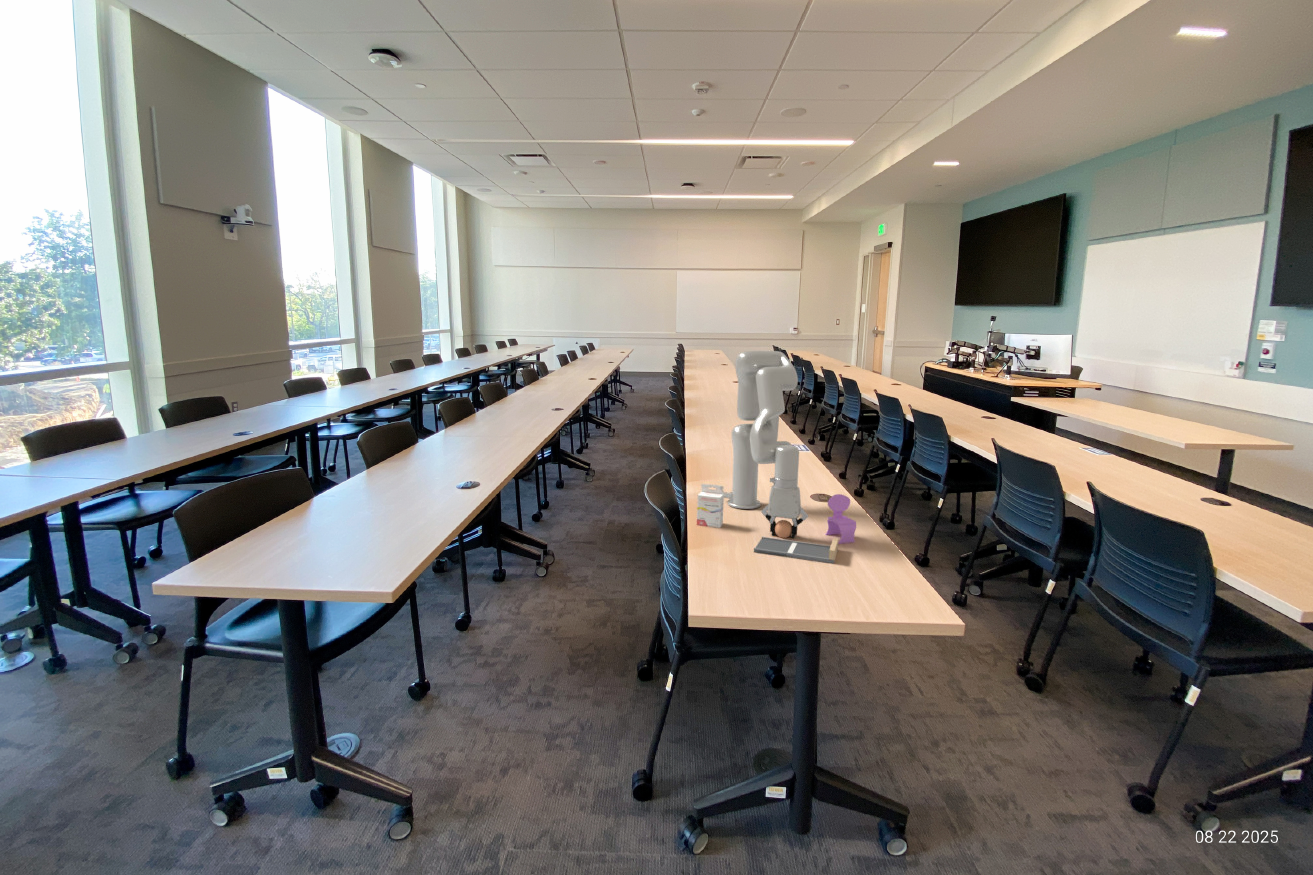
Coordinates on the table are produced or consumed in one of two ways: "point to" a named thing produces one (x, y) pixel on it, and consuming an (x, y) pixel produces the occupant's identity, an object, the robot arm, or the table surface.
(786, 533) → the ball
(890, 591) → the table surface
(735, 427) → the robot arm
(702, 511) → the ink cartridge box
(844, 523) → the toy chair
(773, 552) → the lane
